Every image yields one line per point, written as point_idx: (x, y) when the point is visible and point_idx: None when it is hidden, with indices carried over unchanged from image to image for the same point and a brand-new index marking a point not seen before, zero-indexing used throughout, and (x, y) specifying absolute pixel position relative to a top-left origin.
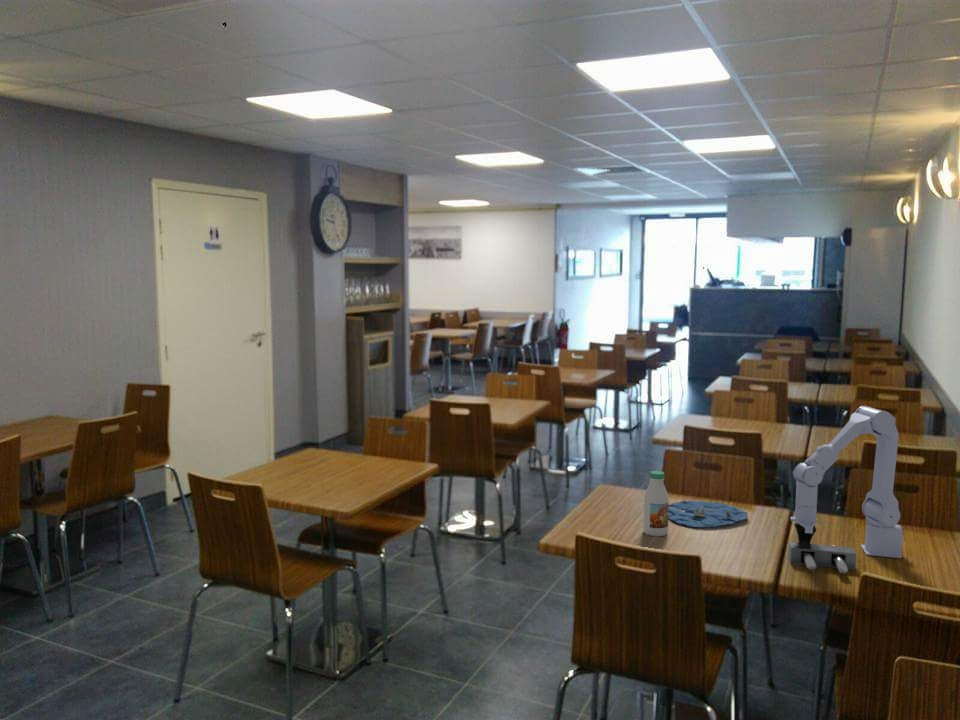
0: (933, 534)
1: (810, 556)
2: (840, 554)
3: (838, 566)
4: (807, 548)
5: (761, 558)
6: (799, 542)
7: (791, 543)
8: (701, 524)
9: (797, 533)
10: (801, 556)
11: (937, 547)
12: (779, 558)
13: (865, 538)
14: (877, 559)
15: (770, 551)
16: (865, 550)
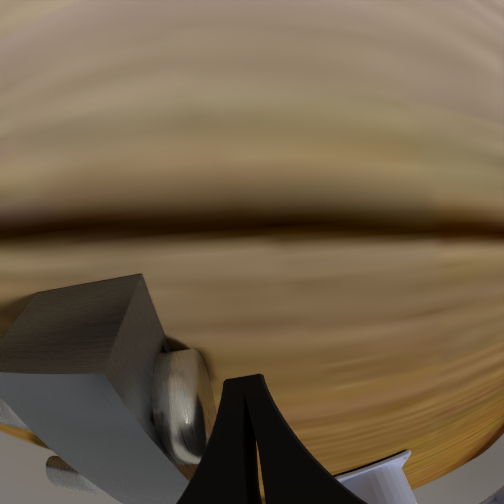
0: (455, 464)
1: (26, 428)
2: None
3: (52, 470)
4: (66, 453)
5: (20, 89)
6: (216, 423)
7: (71, 388)
8: None
9: (300, 465)
10: None
11: None
12: (79, 214)
13: (388, 493)
14: None
15: (217, 117)
16: (361, 473)
